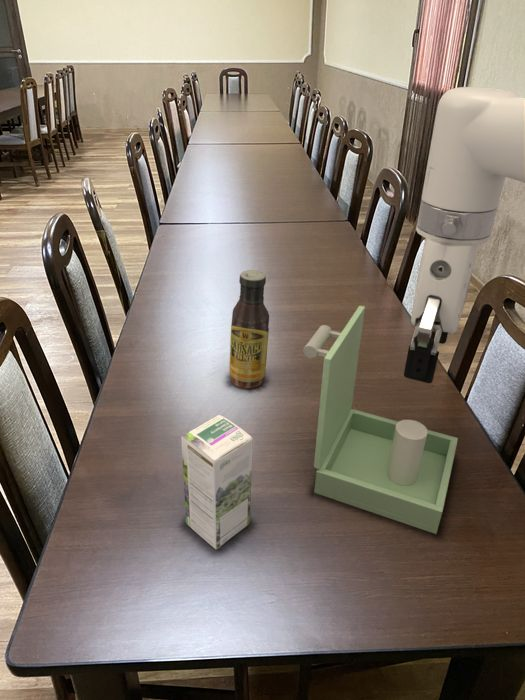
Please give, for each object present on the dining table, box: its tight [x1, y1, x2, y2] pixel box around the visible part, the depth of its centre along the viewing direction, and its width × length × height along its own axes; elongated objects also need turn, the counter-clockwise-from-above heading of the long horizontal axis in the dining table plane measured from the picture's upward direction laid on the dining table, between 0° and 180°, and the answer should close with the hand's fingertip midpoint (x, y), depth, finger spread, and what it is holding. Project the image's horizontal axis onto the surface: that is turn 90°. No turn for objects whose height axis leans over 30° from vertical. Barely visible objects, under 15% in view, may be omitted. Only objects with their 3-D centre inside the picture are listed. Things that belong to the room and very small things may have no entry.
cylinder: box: [387, 419, 428, 486], centre depth 71 cm, size 4×4×8 cm
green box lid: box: [302, 305, 366, 470], centre depth 71 cm, size 17×15×5 cm
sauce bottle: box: [228, 269, 270, 389], centre depth 88 cm, size 6×6×20 cm
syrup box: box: [180, 414, 254, 551], centre depth 62 cm, size 6×6×14 cm
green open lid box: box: [313, 408, 459, 535], centre depth 73 cm, size 16×15×4 cm
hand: (425, 358), depth 65 cm, fingers open, 9 cm apart
